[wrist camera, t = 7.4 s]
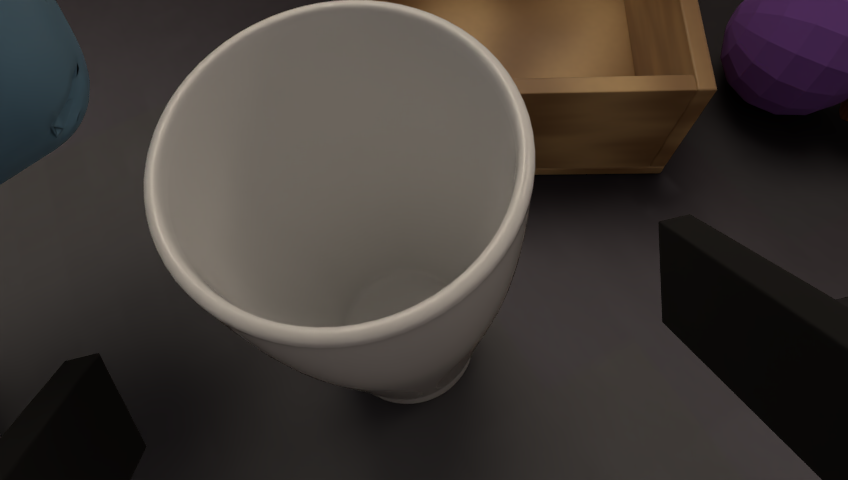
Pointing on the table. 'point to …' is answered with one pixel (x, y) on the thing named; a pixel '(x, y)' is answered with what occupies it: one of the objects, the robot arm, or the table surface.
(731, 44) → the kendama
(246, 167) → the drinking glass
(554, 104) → the bin
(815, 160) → the table surface
